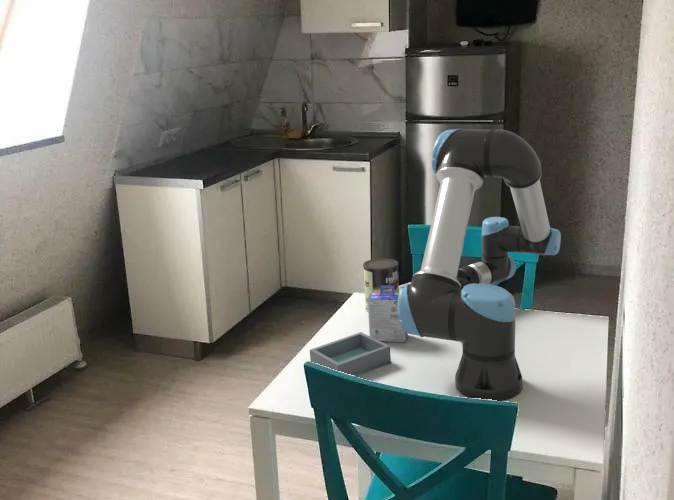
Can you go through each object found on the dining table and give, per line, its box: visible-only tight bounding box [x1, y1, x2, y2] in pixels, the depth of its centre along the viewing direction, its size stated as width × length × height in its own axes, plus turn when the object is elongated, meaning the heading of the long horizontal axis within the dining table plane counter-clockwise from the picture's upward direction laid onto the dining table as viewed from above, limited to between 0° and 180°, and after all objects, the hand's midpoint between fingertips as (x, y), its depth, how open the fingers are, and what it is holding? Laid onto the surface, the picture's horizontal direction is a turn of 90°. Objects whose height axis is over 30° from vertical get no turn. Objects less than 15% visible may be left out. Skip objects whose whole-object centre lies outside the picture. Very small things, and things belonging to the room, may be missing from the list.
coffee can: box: [362, 257, 400, 313], centre depth 218 cm, size 10×10×14 cm
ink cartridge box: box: [367, 285, 409, 343], centre depth 197 cm, size 10×6×14 cm, turn 78°
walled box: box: [309, 331, 392, 377], centre depth 184 cm, size 12×16×4 cm
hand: (415, 297), depth 202 cm, fingers open, 13 cm apart
